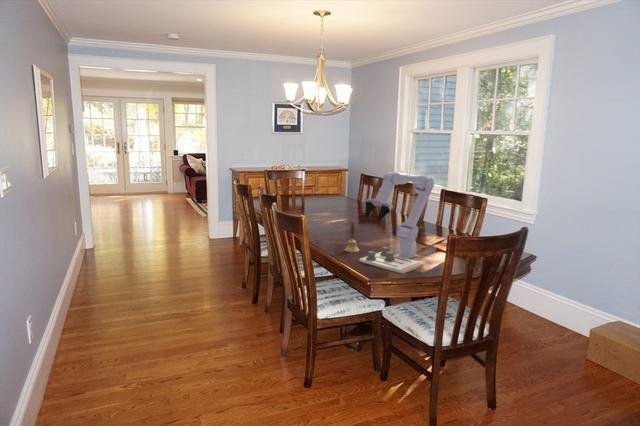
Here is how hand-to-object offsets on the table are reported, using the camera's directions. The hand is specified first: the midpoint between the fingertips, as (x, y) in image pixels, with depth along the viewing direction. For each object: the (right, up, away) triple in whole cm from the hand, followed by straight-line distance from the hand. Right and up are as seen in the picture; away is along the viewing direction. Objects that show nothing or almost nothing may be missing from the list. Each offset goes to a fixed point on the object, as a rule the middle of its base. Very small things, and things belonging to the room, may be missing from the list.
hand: (372, 218), depth 214 cm
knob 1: (+1, -21, +9) cm, 23 cm away
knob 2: (+9, -19, +18) cm, 28 cm away
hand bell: (-8, -18, +31) cm, 37 cm away
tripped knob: (+10, -21, +9) cm, 25 cm away
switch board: (+11, -23, +9) cm, 26 cm away
